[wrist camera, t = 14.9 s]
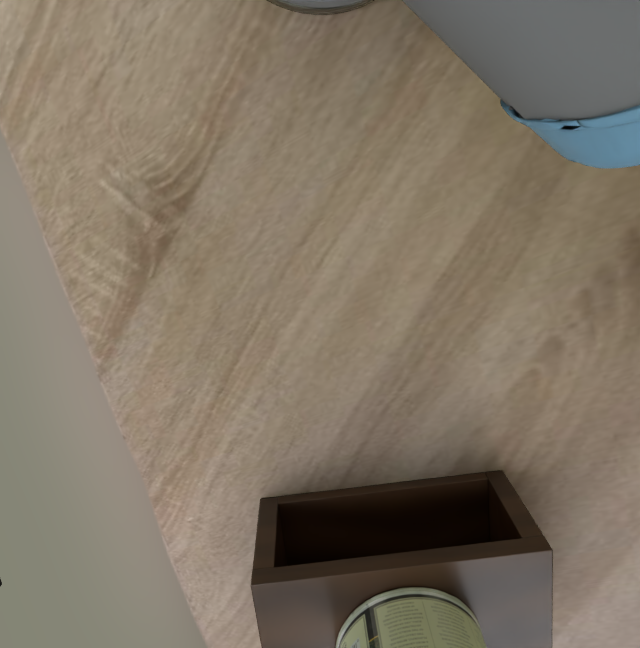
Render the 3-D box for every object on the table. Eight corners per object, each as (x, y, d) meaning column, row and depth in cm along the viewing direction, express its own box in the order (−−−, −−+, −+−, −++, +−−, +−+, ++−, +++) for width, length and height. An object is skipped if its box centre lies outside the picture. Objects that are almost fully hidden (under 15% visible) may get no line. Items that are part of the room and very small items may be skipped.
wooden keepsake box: (259, 498, 48) (247, 614, 36) (502, 469, 48) (569, 576, 36) (282, 634, 52) (277, 779, 40) (505, 608, 52) (567, 745, 40)
